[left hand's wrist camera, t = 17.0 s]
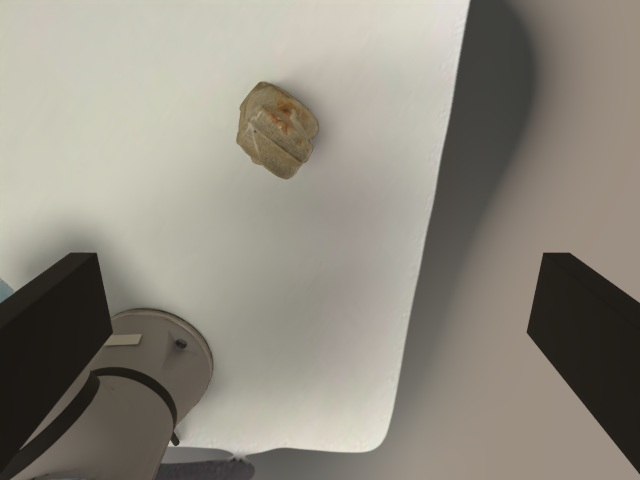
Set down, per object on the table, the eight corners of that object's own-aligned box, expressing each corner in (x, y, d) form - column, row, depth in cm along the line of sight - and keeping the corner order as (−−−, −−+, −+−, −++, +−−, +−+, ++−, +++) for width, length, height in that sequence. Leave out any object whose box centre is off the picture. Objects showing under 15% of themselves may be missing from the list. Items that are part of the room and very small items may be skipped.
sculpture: (289, 162, 44) (274, 202, 30) (236, 112, 43) (195, 131, 29) (327, 120, 43) (331, 143, 29) (274, 67, 41) (251, 64, 27)
